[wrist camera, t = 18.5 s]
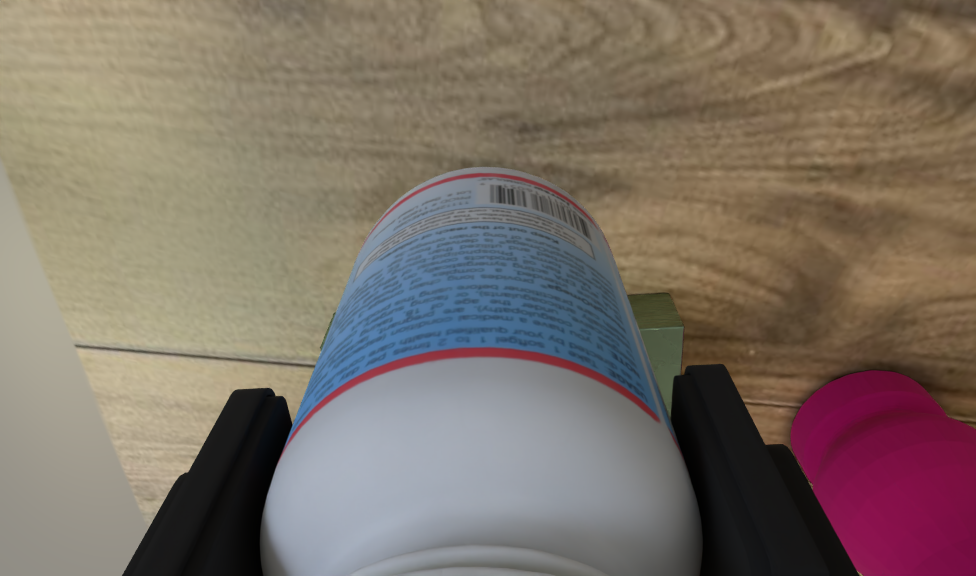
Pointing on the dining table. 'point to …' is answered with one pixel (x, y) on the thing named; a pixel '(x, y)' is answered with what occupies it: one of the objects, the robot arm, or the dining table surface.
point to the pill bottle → (483, 404)
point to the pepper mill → (891, 474)
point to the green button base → (653, 338)
